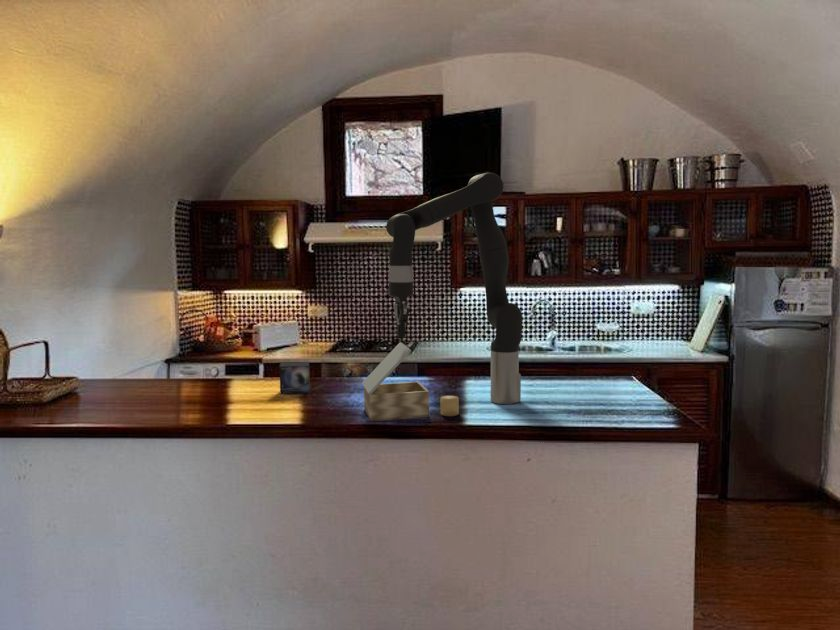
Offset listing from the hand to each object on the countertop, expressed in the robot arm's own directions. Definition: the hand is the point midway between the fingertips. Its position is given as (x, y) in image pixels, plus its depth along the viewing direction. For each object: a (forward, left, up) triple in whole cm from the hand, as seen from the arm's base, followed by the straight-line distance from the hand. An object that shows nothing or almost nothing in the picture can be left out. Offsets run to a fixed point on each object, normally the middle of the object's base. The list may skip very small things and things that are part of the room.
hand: (401, 336), depth 184 cm
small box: (+32, -37, -24) cm, 55 cm away
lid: (+5, 0, -10) cm, 11 cm away
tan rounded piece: (-14, +5, -24) cm, 28 cm away
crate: (+2, 0, -24) cm, 24 cm away
